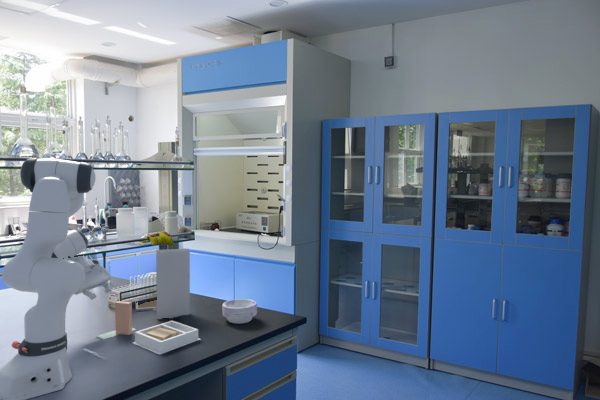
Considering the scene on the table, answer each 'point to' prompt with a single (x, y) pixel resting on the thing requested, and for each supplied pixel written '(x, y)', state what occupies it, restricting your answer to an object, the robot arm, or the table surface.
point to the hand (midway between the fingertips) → (102, 295)
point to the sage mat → (109, 334)
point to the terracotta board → (123, 317)
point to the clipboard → (147, 306)
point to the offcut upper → (161, 334)
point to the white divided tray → (157, 346)
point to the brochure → (173, 283)
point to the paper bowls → (239, 310)
